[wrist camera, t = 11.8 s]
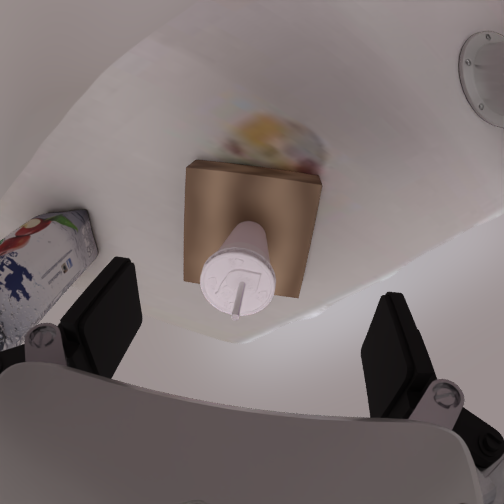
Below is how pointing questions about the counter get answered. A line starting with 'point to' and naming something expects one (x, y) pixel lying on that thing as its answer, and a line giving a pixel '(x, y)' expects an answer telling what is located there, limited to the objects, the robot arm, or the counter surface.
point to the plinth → (250, 216)
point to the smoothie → (240, 273)
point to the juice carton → (40, 269)
